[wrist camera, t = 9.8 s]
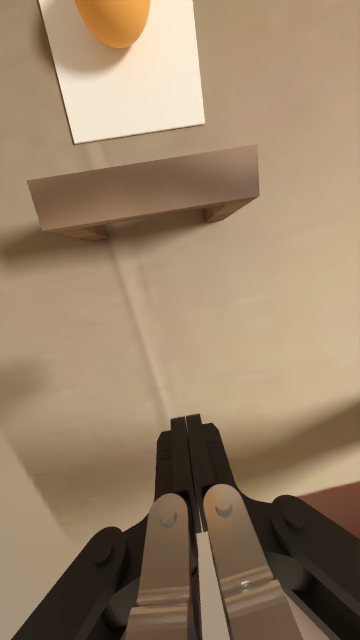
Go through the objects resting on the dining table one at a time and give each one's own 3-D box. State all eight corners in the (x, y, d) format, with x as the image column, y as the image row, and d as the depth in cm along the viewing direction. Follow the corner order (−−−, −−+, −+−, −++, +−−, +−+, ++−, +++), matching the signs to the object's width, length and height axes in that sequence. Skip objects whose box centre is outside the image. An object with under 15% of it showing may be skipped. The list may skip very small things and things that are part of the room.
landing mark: (204, 124, 22) (204, 123, 21) (75, 144, 21) (74, 143, 21) (185, -64, 18) (185, -68, 18) (28, -43, 18) (27, -46, 18)
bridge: (223, 219, 24) (259, 195, 15) (90, 241, 24) (42, 230, 15) (220, 189, 23) (257, 144, 14) (82, 211, 23) (26, 180, 14)
